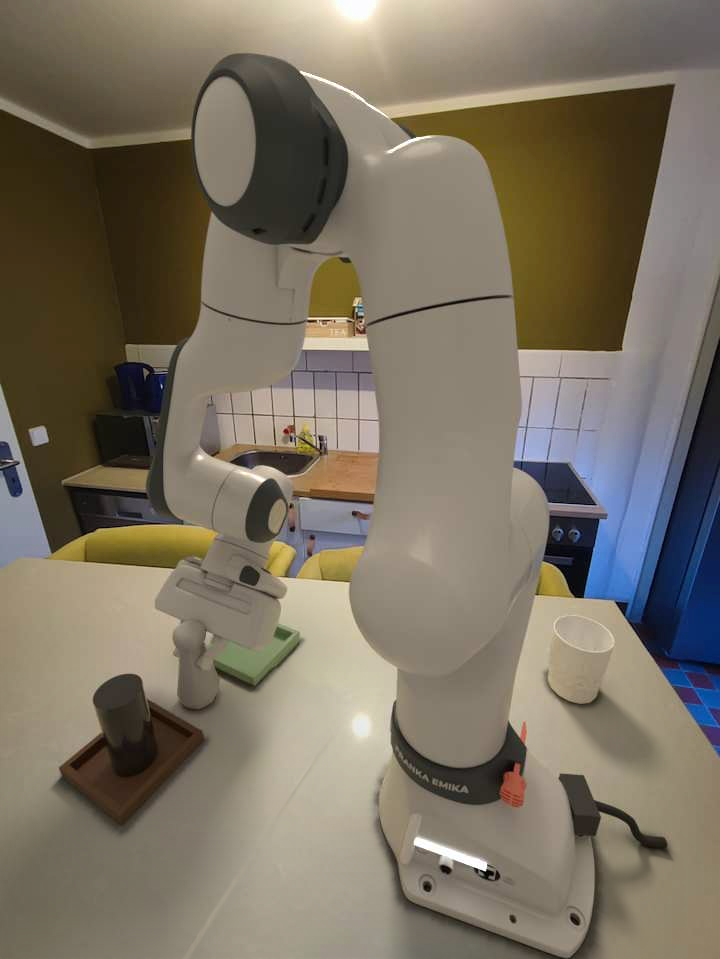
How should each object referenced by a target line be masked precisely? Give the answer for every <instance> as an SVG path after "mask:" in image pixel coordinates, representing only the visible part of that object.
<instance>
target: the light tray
mask: <svg viewBox="0 0 720 959" xmlns="http://www.w3.org/2000/svg"><path fill="white" fill-rule="evenodd" d="M300 638H301V636H300V631H299V630H296V629H294V628H291V627H289V626H285V625H283V624H282V623H281V624H280V623H278V625H277V628H276V631H275V633H274V636H273V639H272V641H271V644H270V645H269V647H268V648H266V649H265V650H264V651H262V652H257V651H252V650H249V649H246V648H244V647H242V646H239V645H237V644H235V643H232V642H230V641H229V643H228V646H227V648H226V649H225V650H224V651H222V652H221V653H220V654H219V655H218V656H217V657H216V658H214V661H213V665H214V667H215V669H218V670H220V671H222V672H225V673H227V674H229V675H231V676H233V677H235V678H237V679H239V680H241V681H243V682H245V683H247V684H250V685H251V686H254V687H256V686H257V685H258V683H260V681H261V680H263V678H265V676H266V675H267V674H268V673H269V672H270V671H271V670H272V669H273V668H274V669H275V668H277V667H278V665H279V664H280V663H281V662H283V660H284V659H285V658H286V657H287V656H288V655H289V653H291V652H292V651H293V649H294V648H296V646H297V645H298V644H299V643H300V642H301V639H300ZM212 645H213V644H212V643H211V642H209V643H208V644H207V645H206V648H207V650H208V649H209V648H210V647H211V646H212Z"/></svg>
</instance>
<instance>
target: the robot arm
mask: <svg viewBox="0 0 720 959" xmlns="http://www.w3.org/2000/svg"><path fill="white" fill-rule="evenodd" d="M190 148H191V158H192V164H193V170H194V174H195V178H196V180H197V184H198V186H199V189H200V191H201V193H202V195H203V198H204V200H205V202H206V204H207V206H208V207H209V209H210V211H211V212H210V216H209V221H208V226H207V232H206V236H205V237H206V238H205V244H204V251H203V260H202V269H201V280H200V281H201V284H200V308H199V316H198V318H197V323H196V326H195V328H194V330H193V333H192V335H191V336H187V337H185V338H183V339H181V340H180V341H179V342H178V343H177V344H176V346H175V348H174V350H173V352H172V354H171V357H170V360H169V364H168V368H167V372H166V378H165V383H164V388H163V395H162V402H161V409H160V416H159V421H158V422H159V423H158V430H157V437H156V443H155V448H154V449H155V450H154V455H153V458H152V461H151V463H150V467H149V470H148V472H147V476H146V479H145V492H146V496H147V499H148V502H149V503H150V505H151V508H152V509H153V511H154V512H155V513H156V514H157V515H159V516H161V517H163V518H170V519H172V520H177V521H181V522H186V523H190V524H192V525H195V526H198V527H201V528H204V529H206V530H209V531H212V532H214V533H217V534H216V535H215V536H214V538H213V540H212V542H211V544H210V545H209V548H208V550H207V552H206V555H205V557H204V558H200V557H198V556H195V555H189V556H187V557H184V558H183V559H181V560H179V561H178V563H177V565H176V567H175V568H173V570H172V572H171V573H170V574H169V576H168V577H167V578H166V580H165V582H164V583H163V585H162V586H161V588H160V589H159V591H158V593H157V595H156V597H155V599H154V609H155V610H156V611H159V612H161V613H163V614H166V615H168V616H171V617H173V618H174V619H177V620H180V622H179V624H178V625H180V624H181V623H183V622H186V621H189V620H196V621H199V622H201V623H202V624H203V625H204V626H205V630H206V633H210V634H212V638H211V639H210V643H212V644H213V645H212V646H211V647H210V648H209V649H208V650H207V651H206V652H205V653H204V654H202V653H200V655H199V657H198V659H197V661H196V662H195V666H196V667H198V668H200V669H202V670H209V669H210V667H211V665H212V663H213V661H214V658H216V657H217V656H218V655H219V654H220V653H221V652H222V651H224V650H225V649H226V648H227V646H228V643H229V641H230V642H232V643H235V644H237V645H239V646H242V647H244V648H246V649H249V650H252V651H257V652H262V651H264V650H265V649H266V648H268V647H269V645H270V644H271V641H272V639H273V636H274V633H275V631H276V628H277V625H278V624H279V622H280V618H281V613H282V604H281V602H280V600H282V599H284V598H285V596H286V594H287V592H288V586H287V585H286V584H285V583H284V582H283V581H281V580H280V579H279V578H278V577H276V576H275V575H274V574H273V573H272V572H270V571H269V570H268V569H267V565H268V562H269V559H270V554H271V549H272V546H273V545H274V543H275V541H276V540H277V538H278V537H280V534H281V532H282V530H283V526H284V524H285V522H286V519H287V517H288V514H289V510H290V506H291V502H292V498H293V493H294V489H295V488H294V483H293V482H292V480H291V479H290V478H289V476H288V475H287V474H285V473H284V472H282V471H281V470H279V469H277V468H275V467H272V466H269V465H263V464H262V465H260V464H259V465H256V466H254V467H253V468H252V469H251V468H249V467H246V466H241V465H236V464H235V463H231V462H228V461H226V460H222V459H220V458H219V459H218V458H216V457H214V456H211V455H209V454H208V453H206V452H205V451H204V449H202V447H201V445H200V441H201V437H202V432H203V427H204V421H205V418H206V412H207V408H208V403H209V400H210V398H211V396H214V395H222V394H223V395H224V394H236V393H248V392H253V391H257V390H258V391H259V390H261V389H264V388H267V387H270V386H273V385H274V384H277V383H278V382H280V381H282V380H283V379H285V378H286V377H287V376H288V375H290V374H291V373H292V371H294V369H295V368H296V366H297V364H298V363H299V361H300V358H301V356H302V352H303V349H304V348H303V347H304V343H305V339H306V334H307V326H308V320H309V319H308V318H309V313H310V312H309V311H310V302H311V292H312V286H313V281H314V279H315V278H314V277H315V275H316V273H317V271H318V269H319V268H320V266H322V264H324V262H326V261H327V260H329V259H332V258H338V259H339V260H340V261H341V262H342V263H344V264H352V266H353V268H354V270H355V273H356V276H357V281H358V285H359V290H360V297H361V306H362V314H363V321H364V327H365V334H366V341H367V346H368V347H367V348H368V354H369V360H370V367H371V375H372V382H373V389H374V397H375V405H376V411H377V412H376V413H377V422H378V457H377V459H378V460H377V468H376V478H375V487H374V488H375V489H374V495H373V496H374V497H373V505H372V512H371V517H370V518H371V519H370V524H369V528H368V532H367V536H366V539H365V542H364V545H363V548H362V551H361V553H360V555H359V557H358V560H357V562H356V564H355V567H354V569H353V571H352V573H351V576H350V580H349V585H348V599H349V606H350V610H351V614H352V616H353V619H354V620H353V621H354V622H355V624H356V626H357V629H358V630H359V632H360V634H361V636H362V637H363V638H364V640H365V642H366V643H367V644H368V645H369V647H370V648H371V649H372V650H373V651H374V652H375V653H376V654H377V655H379V657H380V658H382V659H383V660H384V661H386V662H387V663H388V664H390V665H392V666H393V667H395V668H397V669H396V697H395V698H396V699H395V700H394V701H393V703H392V709H391V715H390V725H389V732H390V745H391V748H392V753H391V758H390V763H389V766H388V770H387V771H386V774H385V776H384V778H383V780H382V782H381V786H380V789H379V795H378V815H379V822H380V825H381V829H382V831H383V834H384V837H385V839H386V841H387V843H388V845H389V846H390V849H391V851H392V852H393V855H394V857H395V859H396V862H397V868H398V875H399V879H400V885H401V889H402V892H403V894H404V896H405V897H406V899H407V900H409V901H410V902H411V903H413V904H416V905H418V906H421V907H424V908H426V909H429V910H431V911H434V912H437V913H440V914H442V915H445V916H448V917H451V918H454V919H456V920H459V921H461V922H464V923H466V924H470V925H472V926H475V927H476V928H477V927H478V928H481V929H482V930H486V931H488V932H491V933H494V934H497V935H498V936H502V937H504V938H507V939H510V940H513V941H515V942H518V943H520V944H524V945H526V946H529V947H532V948H534V949H537V950H539V951H541V952H545V953H548V954H550V955H552V956H555V957H558V958H563V959H569V958H571V957H572V956H573V955H574V954H576V952H577V951H578V950H579V948H580V947H581V946H582V944H583V942H584V940H586V936H587V934H588V931H589V928H590V924H591V920H592V916H593V908H594V899H595V883H596V872H595V856H594V848H593V843H592V839H591V837H597V833H598V830H599V826H600V823H601V819H602V816H601V814H600V813H603V814H605V815H608V816H610V817H614V818H616V819H619V820H620V821H622V822H624V823H625V824H627V826H628V828H629V830H630V832H631V834H632V836H633V838H634V839H635V840H636V841H638V842H639V843H640V844H642V845H644V846H646V847H650V848H662V849H667V848H668V842H667V839H666V837H664V836H657V835H655V836H654V835H647V834H644V833H642V832H641V830H640V828H639V824H638V823H637V822H636V820H635V819H634V818H633V817H632V816H631V815H630V814H628V813H627V812H625V811H624V810H622V809H620V808H618V807H615V806H613V805H610V804H607V803H604V802H601V801H598V800H595V798H594V797H593V794H592V791H591V789H590V787H589V784H588V782H587V780H586V777H585V775H584V774H572V773H561V772H560V773H559V775H558V776H557V775H556V774H554V773H553V772H552V771H551V770H549V769H548V768H547V767H546V766H545V765H544V764H543V763H542V762H541V761H540V760H538V759H537V758H536V757H535V756H534V755H532V754H531V753H530V752H529V748H528V746H526V738H527V725H526V724H527V723H526V721H523V722H522V726H521V732H520V736H519V734H518V733H517V732H516V730H515V728H514V727H513V726H512V724H511V722H510V720H509V719H510V713H511V712H510V711H511V706H512V700H513V694H514V687H515V682H516V675H517V671H518V666H519V662H520V659H521V654H522V652H523V651H522V650H523V648H524V647H523V646H524V643H525V639H526V635H527V631H528V627H529V623H530V618H531V614H532V610H533V605H534V602H535V597H536V593H537V588H538V584H539V579H540V577H541V576H540V575H541V571H542V566H543V563H544V557H545V553H546V547H547V542H548V537H549V530H550V505H549V501H548V498H547V495H546V493H545V492H544V490H543V488H542V486H541V485H540V484H539V482H538V481H537V480H536V479H534V478H533V477H532V476H531V475H529V474H528V473H527V472H525V471H523V470H522V469H519V468H517V467H514V464H515V453H516V445H517V437H518V429H519V425H520V422H521V417H522V412H523V399H522V386H521V374H520V373H521V372H520V360H519V348H518V334H517V321H516V309H515V308H516V307H515V299H514V296H515V295H514V286H513V284H514V283H513V276H512V275H513V274H512V268H511V267H512V266H511V261H510V253H509V246H508V241H507V237H506V236H507V235H506V232H505V230H506V229H505V226H504V220H503V217H502V214H501V207H500V204H499V199H498V196H497V192H496V188H495V185H494V183H493V182H494V181H493V178H492V175H491V171H490V168H489V166H488V163H487V161H486V159H485V158H484V156H483V155H482V153H481V152H480V151H479V150H478V149H477V148H476V147H474V145H472V144H471V143H469V142H468V141H465V140H463V139H461V138H458V137H455V136H449V135H441V134H439V135H437V134H434V135H433V134H432V135H425V136H420V137H418V136H417V135H416V134H415V133H414V132H413V131H412V130H411V129H410V128H408V127H407V126H405V125H404V124H401V123H397V122H395V121H393V120H392V119H390V118H389V117H388V116H387V115H386V114H384V113H383V112H381V111H380V110H379V109H378V108H376V107H374V106H372V105H370V104H369V103H368V102H366V101H365V100H364V99H363V98H362V97H361V96H359V95H358V94H356V93H355V92H354V91H351V90H349V89H347V88H346V87H343V86H341V85H339V84H336V83H334V82H331V81H329V80H327V79H324V78H321V77H319V76H315V75H312V74H310V73H308V72H307V73H306V72H303V71H300V70H299V69H298V68H297V67H296V66H295V65H294V64H292V63H291V62H288V61H287V60H285V59H282V58H279V57H275V56H272V55H265V54H261V53H251V52H238V53H236V52H235V53H231V54H228V55H227V56H224V57H223V58H221V59H220V60H219V61H217V63H215V65H214V67H213V68H212V69H211V70H210V71H209V73H208V75H207V76H206V78H205V80H204V82H203V83H202V85H201V87H200V89H199V92H198V94H197V98H196V101H195V104H194V108H193V113H192V119H191V129H190ZM172 655H173V657H176V658H178V659H179V649H177V648H176V647H175V648H174V651H173V653H172ZM425 886H428V887H429V888H430V891H426V890H425V889H424V887H425ZM571 918H572V919H575V921H576V922H577V923H578V925H577V924H575V923H573V922H572V919H571Z"/></svg>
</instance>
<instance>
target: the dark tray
mask: <svg viewBox="0 0 720 959" xmlns="http://www.w3.org/2000/svg"><path fill="white" fill-rule="evenodd" d="M147 702H148V707H149V711H150V715H151V719H152V723H153V728H154V732H155V736H156V740H157V744H158V753H157V756H156V758H155V760H154V761H153V763H152V764H151V765H150V766H149V767H148V768H147V769H145V770H144V771H143V772H141V773H139V774H137V775H135V776H131V777H120V776H118V775H116V774H115V773H114V771H113V769H112V765H111V762H110V759H109V755H108V752H107V748H106V745H105V742H104V738H103V735H102V732H100V733H99V734H98V735H96V736H95V737H94V738H93V739H92V740H90V741H89V742H88V743H87V744H85V745H84V746H83V747H82V748H80V749H79V750H78V751H77V752H76V753H74V754H73V755H72V756H71V757H69V758H68V759H67V760H66V761H65V762H63V763H62V764H61V765H60V766H59V767H58V770H59V774H60V775H61V777H62V778H63V779H64V780H65V781H66V782H67V783H69V784H70V785H72V787H74V788H75V789H76V790H77V791H79V792H80V793H82V795H83V796H84V797H86V798H88V800H90V801H91V802H92V803H93V804H95V805H96V806H97V807H99V808H100V809H101V810H102V811H104V812H105V813H106V814H107V815H108V816H110V817H111V818H112V819H113V820H114V821H116V822H117V823H118V824H119V825H120V826H124V825H125V824H126V823H127V822H128V821H129V819H131V818H132V816H134V814H135V813H137V811H138V810H139V809H140V808H141V807H142V806H143V805H144V804H145V803H146V802H147V801H148V800H149V799H150V798H151V797H152V795H154V793H155V792H156V791H157V790H159V788H160V787H161V786H162V785H163V784H164V783H165V782H166V781H167V779H169V778H170V776H171V775H172V774H173V773H174V772H175V771H176V770H177V769H178V768H179V767H180V766H181V765H182V764H183V763H184V762H185V761H186V759H187V758H189V756H190V755H191V754H192V753H193V752H194V751H195V750H196V749H197V748H198V747H199V746H200V745H201V744H202V743H203V742H204V740H205V737H204V732H203V730H202V729H200V728H198V727H196V726H194V725H193V724H192V723H189V722H188V721H186V720H184V719H182V718H181V717H180V716H177V715H175V714H174V713H173V712H170V711H169V710H167V709H165V708H163V707H162V706H161V705H159V704H157V703H155V702H153V701H152V700H150V699H148V698H147Z"/></svg>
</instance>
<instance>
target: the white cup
mask: <svg viewBox="0 0 720 959" xmlns="http://www.w3.org/2000/svg"><path fill="white" fill-rule="evenodd" d="M615 643H616V642H615V637H614V636H613V633H612V632H611V631H610V630H609V629H608V628H607V627H605V626H604V625H603V624H601V623H600V622H599V621H596V620H594V619H591V618H588V617H586V616H582V615H578V614H566V615H561V616H559V617H557V618H556V619H555V620H554V621H553V624H552V633H551V641H550V648H549V656H548V657H549V658H548V665H549V666H548V674H547V682H548V684H549V686H550V688H551V689H552V691H553V692H554V693H556V695H557V696H559V697H560V698H562V699H564V700H566V701H568V702H570V703H574V704H580V705H582V704H583V705H584V704H590V703H592V702H593V701H594V700H595V699H597V696H598V693H599V689H600V686H601V685H602V683H603V681H604V677H605V674H606V671H607V670H608V669H607V668H608V666H609V662H610V660H611V656H612V652H613V649H614V647H615Z"/></svg>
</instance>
